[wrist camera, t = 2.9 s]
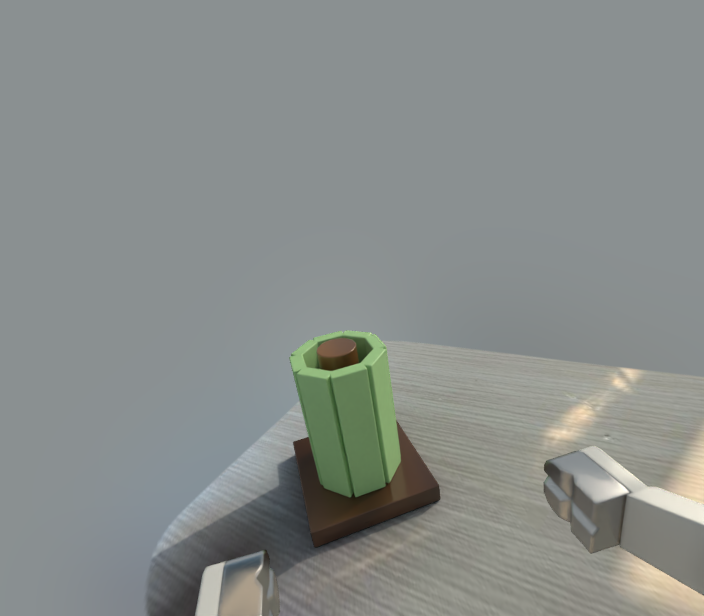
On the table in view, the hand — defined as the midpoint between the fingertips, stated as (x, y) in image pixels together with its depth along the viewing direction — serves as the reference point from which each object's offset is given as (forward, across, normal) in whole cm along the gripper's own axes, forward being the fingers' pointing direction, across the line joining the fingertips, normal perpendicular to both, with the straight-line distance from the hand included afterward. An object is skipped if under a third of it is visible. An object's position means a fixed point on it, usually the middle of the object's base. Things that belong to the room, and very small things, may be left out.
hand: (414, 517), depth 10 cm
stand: (+12, 0, +10) cm, 16 cm away
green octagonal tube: (+12, 0, +9) cm, 15 cm away
